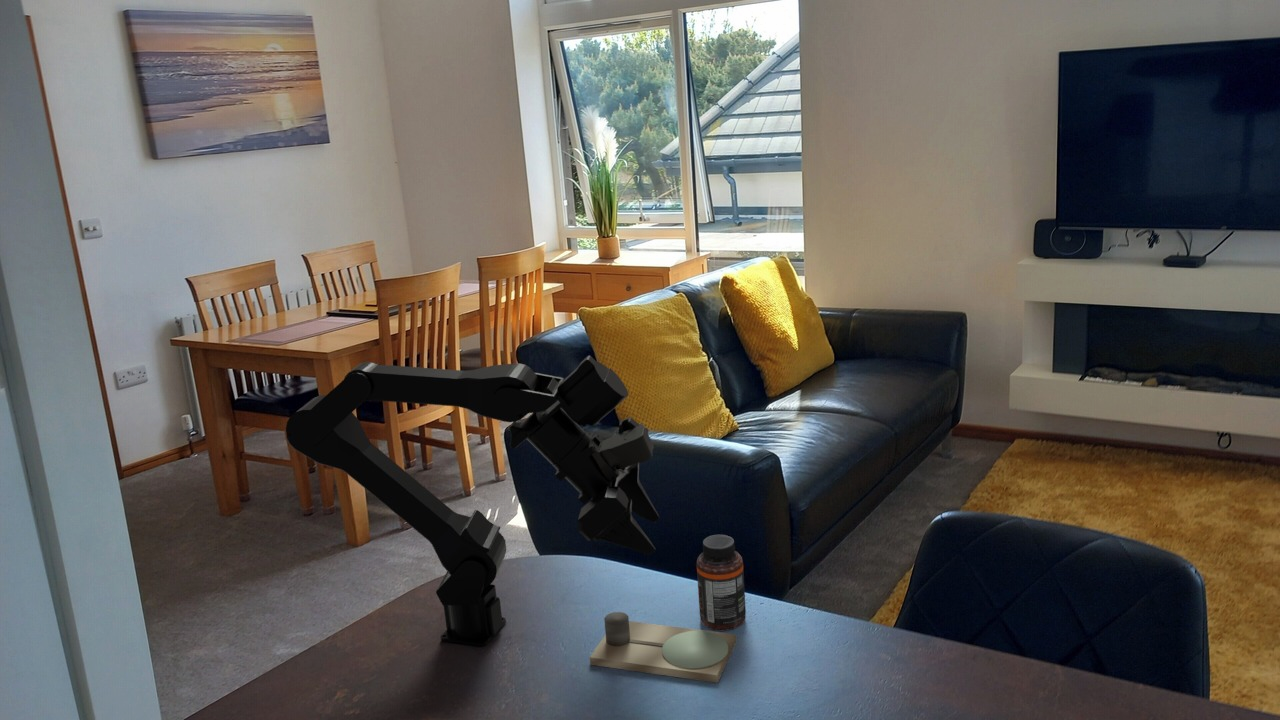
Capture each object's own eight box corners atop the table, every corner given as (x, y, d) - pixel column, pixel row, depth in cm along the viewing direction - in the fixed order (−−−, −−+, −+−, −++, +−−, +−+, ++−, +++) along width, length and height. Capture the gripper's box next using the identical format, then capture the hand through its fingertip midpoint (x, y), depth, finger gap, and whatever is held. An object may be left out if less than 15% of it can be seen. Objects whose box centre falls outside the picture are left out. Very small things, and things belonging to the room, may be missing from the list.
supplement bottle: (701, 608, 130) (696, 530, 127) (746, 608, 129) (743, 529, 126) (698, 632, 124) (693, 551, 121) (745, 633, 123) (741, 551, 120)
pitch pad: (653, 663, 116) (653, 662, 116) (673, 628, 124) (673, 627, 123) (718, 672, 114) (718, 671, 113) (735, 636, 121) (735, 635, 121)
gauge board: (590, 664, 119) (587, 635, 118) (616, 626, 127) (614, 598, 126) (717, 682, 113) (715, 652, 112) (736, 641, 121) (735, 612, 120)
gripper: (608, 432, 110) (702, 529, 112) (622, 384, 127) (703, 467, 130) (538, 493, 112) (631, 586, 114) (561, 437, 130) (641, 519, 132)
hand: (654, 535), depth 123 cm, fingers open, 9 cm apart
